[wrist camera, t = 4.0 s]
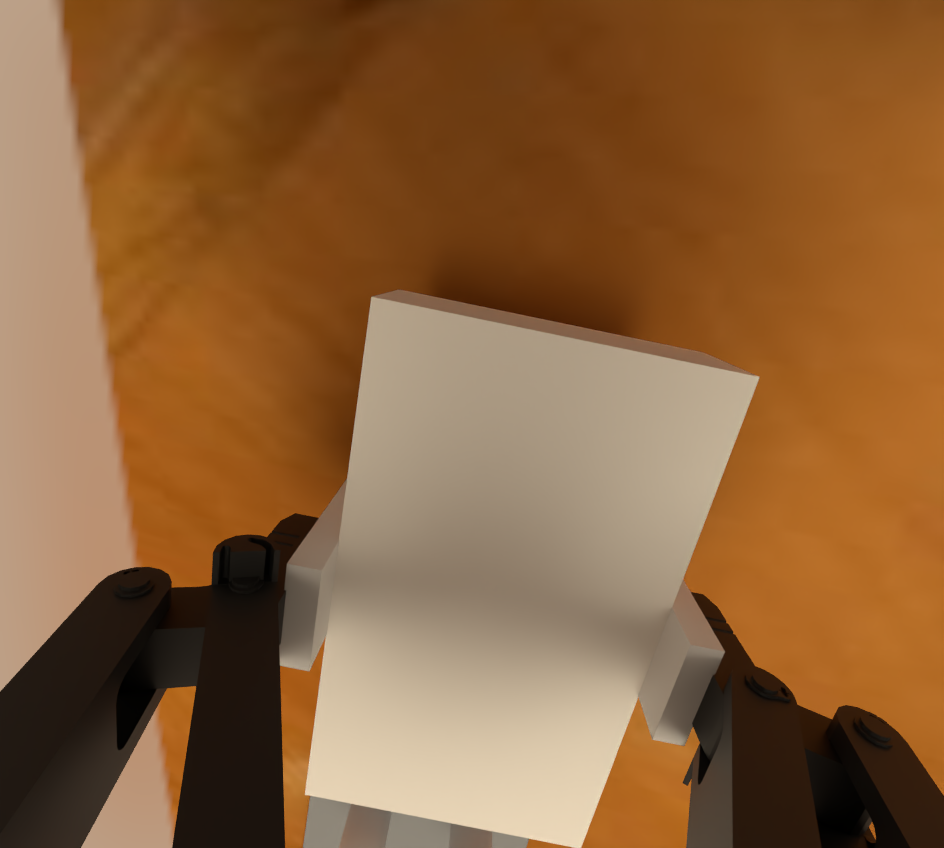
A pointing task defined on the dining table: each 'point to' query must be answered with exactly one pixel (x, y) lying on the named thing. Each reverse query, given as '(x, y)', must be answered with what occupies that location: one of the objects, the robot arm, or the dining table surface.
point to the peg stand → (391, 830)
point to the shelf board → (508, 559)
